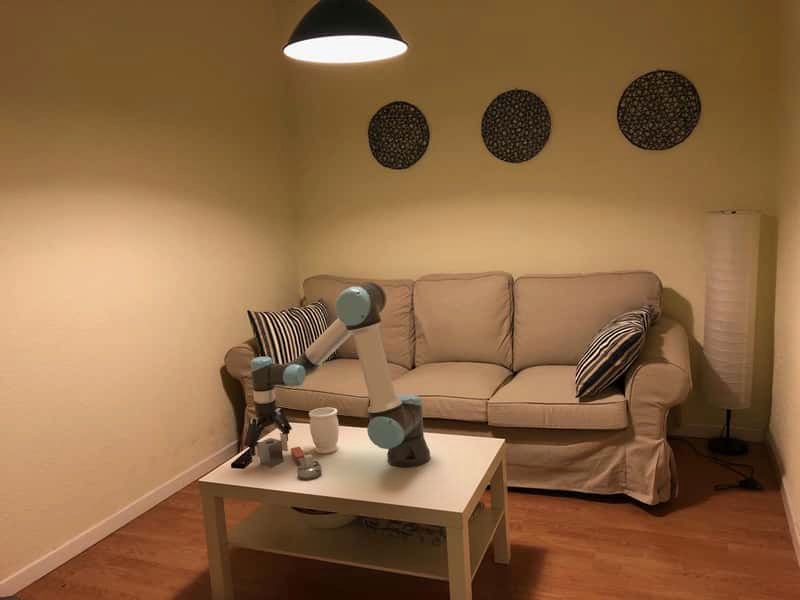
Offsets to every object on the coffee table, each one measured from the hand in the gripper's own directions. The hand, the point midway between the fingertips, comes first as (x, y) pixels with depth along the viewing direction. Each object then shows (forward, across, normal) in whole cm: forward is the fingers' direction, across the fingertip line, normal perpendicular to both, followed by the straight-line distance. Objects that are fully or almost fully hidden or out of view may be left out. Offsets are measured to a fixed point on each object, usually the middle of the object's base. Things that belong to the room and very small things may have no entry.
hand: (270, 457), depth 249 cm
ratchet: (+2, -4, +13) cm, 14 cm away
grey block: (+2, 0, 0) cm, 2 cm away
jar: (+2, -19, +9) cm, 21 cm away
